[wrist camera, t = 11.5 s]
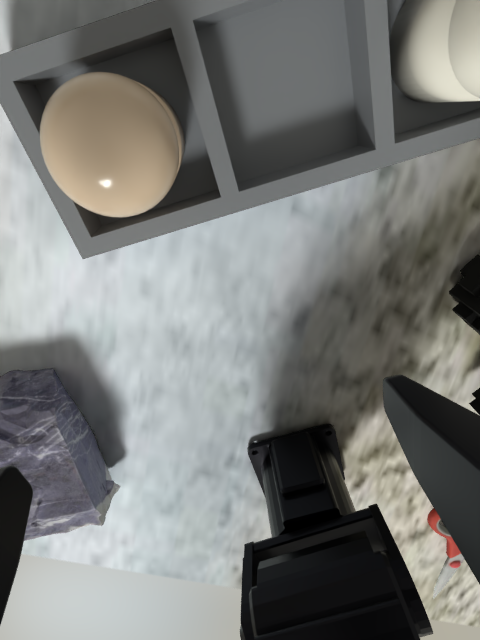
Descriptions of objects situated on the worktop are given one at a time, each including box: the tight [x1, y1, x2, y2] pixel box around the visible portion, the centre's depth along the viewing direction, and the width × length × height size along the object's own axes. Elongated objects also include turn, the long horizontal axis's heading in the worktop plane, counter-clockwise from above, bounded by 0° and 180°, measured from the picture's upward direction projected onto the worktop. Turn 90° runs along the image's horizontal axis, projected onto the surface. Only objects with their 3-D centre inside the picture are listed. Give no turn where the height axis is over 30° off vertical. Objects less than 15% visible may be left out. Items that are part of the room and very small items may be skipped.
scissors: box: [428, 509, 464, 599], centre depth 37 cm, size 8×21×2 cm, turn 14°
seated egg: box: [40, 72, 185, 217], centre depth 13 cm, size 4×4×7 cm
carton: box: [0, 0, 480, 259], centre depth 15 cm, size 8×21×2 cm, turn 106°
